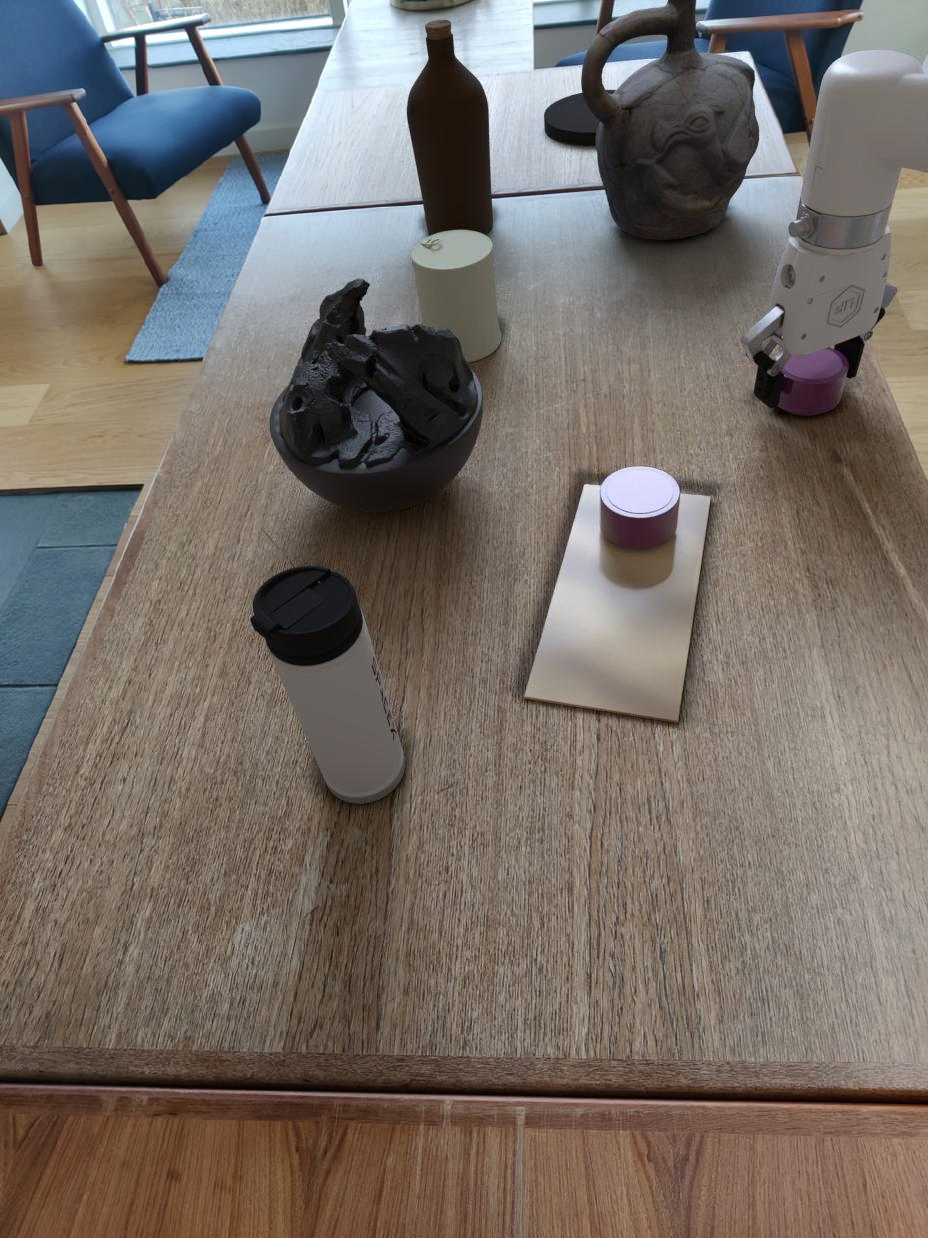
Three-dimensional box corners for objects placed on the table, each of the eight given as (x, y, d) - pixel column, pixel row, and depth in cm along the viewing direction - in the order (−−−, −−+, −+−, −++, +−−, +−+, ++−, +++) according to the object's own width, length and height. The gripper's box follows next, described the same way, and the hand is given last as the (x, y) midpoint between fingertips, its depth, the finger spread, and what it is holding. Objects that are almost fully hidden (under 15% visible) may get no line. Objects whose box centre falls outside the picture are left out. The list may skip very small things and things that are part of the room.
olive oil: (477, 249, 121) (456, 39, 102) (410, 240, 125) (378, 36, 106) (509, 214, 127) (496, 9, 108) (444, 206, 130) (420, 8, 112)
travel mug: (305, 777, 68) (224, 602, 53) (367, 721, 71) (307, 540, 56) (359, 824, 65) (290, 652, 50) (422, 763, 67) (374, 584, 52)
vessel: (672, 287, 109) (694, 0, 86) (542, 239, 120) (532, -25, 98) (787, 212, 118) (833, -65, 96) (657, 174, 130) (671, -81, 108)
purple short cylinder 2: (825, 377, 94) (834, 338, 90) (849, 416, 89) (859, 377, 86) (759, 386, 94) (765, 348, 90) (780, 425, 89) (787, 387, 86)
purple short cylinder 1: (667, 498, 83) (670, 460, 80) (685, 550, 79) (689, 512, 75) (593, 508, 84) (593, 470, 80) (606, 560, 79) (607, 522, 76)
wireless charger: (536, 112, 151) (535, 99, 149) (639, 96, 151) (640, 83, 149) (554, 152, 139) (554, 139, 137) (666, 135, 139) (667, 121, 137)
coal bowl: (449, 573, 80) (420, 399, 66) (260, 537, 86) (196, 370, 72) (517, 440, 92) (504, 268, 78) (346, 415, 98) (306, 252, 84)
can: (454, 314, 110) (442, 218, 101) (516, 332, 106) (509, 233, 97) (409, 352, 106) (392, 255, 97) (471, 371, 101) (460, 272, 92)
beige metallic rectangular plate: (584, 486, 86) (584, 483, 86) (710, 498, 83) (711, 496, 83) (524, 698, 70) (523, 696, 70) (677, 723, 67) (678, 721, 67)
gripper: (786, 264, 73) (755, 433, 86) (952, 206, 77) (899, 377, 90) (731, 230, 78) (710, 395, 91) (890, 177, 81) (848, 343, 94)
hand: (804, 386), depth 90 cm, fingers open, 9 cm apart
